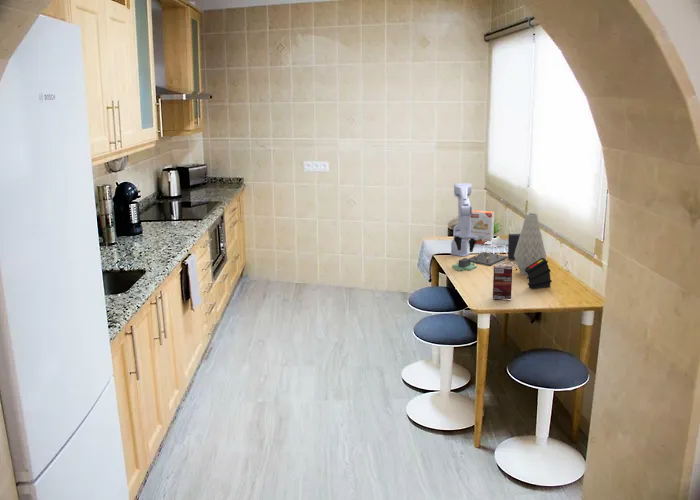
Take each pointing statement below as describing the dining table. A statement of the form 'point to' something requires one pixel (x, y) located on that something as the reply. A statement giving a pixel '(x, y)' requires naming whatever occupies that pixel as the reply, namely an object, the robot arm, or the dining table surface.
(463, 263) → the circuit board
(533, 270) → the magazine
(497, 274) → the supplement box
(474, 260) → the chassis plate
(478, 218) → the cracker box
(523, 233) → the vase
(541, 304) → the dining table surface
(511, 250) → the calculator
